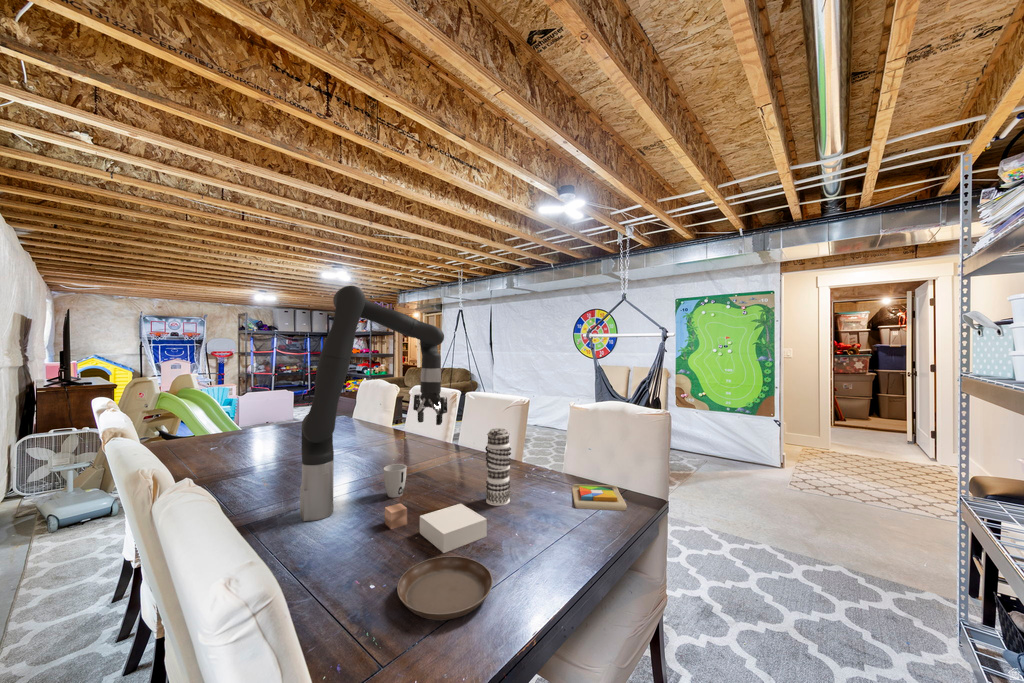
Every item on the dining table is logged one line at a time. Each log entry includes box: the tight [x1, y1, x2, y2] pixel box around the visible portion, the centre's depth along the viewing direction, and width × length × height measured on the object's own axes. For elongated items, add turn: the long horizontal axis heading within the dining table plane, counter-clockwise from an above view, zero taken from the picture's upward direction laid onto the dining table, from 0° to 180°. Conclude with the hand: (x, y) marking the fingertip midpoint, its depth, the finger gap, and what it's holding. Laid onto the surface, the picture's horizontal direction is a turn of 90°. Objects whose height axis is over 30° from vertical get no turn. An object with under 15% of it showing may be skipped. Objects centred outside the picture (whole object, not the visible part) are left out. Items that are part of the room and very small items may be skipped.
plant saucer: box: [396, 555, 494, 621], centre depth 85 cm, size 21×21×3 cm
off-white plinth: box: [419, 502, 488, 554], centre depth 112 cm, size 14×14×5 cm
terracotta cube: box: [384, 503, 408, 530], centre depth 119 cm, size 5×5×5 cm
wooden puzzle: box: [571, 483, 628, 512], centre depth 139 cm, size 18×19×4 cm
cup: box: [383, 463, 408, 498], centre depth 141 cm, size 8×8×10 cm
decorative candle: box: [485, 428, 512, 507], centre depth 136 cm, size 9×9×25 cm
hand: (429, 423), depth 145 cm, fingers open, 8 cm apart
